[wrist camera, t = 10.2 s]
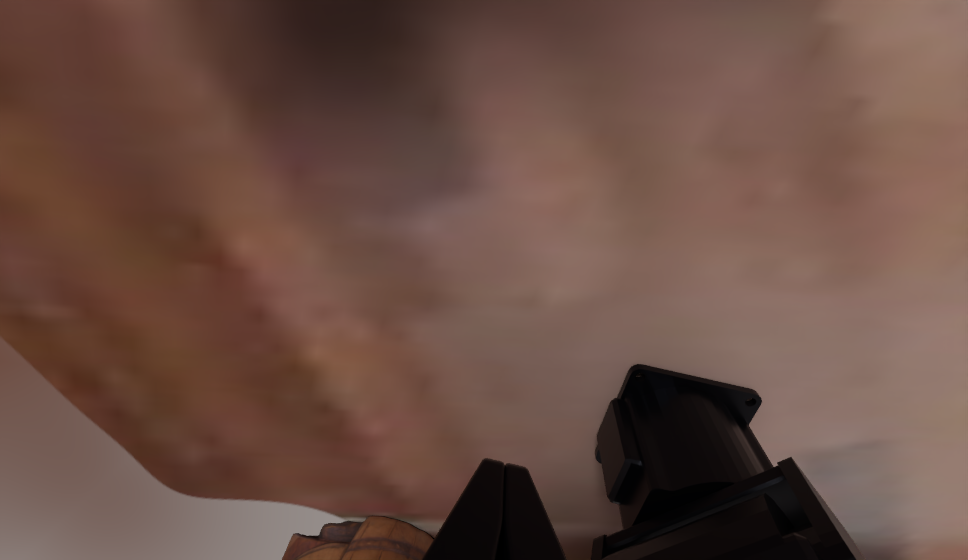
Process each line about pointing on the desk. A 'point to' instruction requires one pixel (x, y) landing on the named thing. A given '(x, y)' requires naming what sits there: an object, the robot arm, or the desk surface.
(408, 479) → the desk surface
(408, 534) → the wooden figurine
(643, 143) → the desk surface
